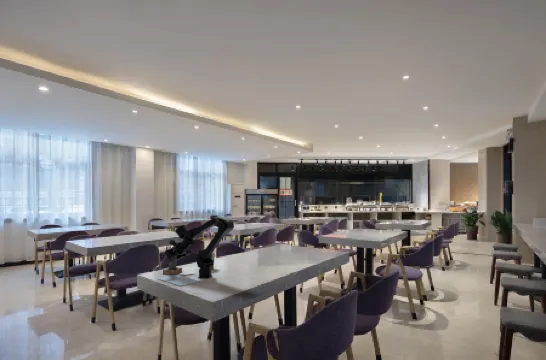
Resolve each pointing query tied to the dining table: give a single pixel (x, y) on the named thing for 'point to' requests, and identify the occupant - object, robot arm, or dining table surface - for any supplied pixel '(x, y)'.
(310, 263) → the dining table surface
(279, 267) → the dining table surface
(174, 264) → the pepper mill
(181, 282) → the placemat
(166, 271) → the walnut holder
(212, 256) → the food container
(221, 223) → the robot arm
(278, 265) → the dining table surface
